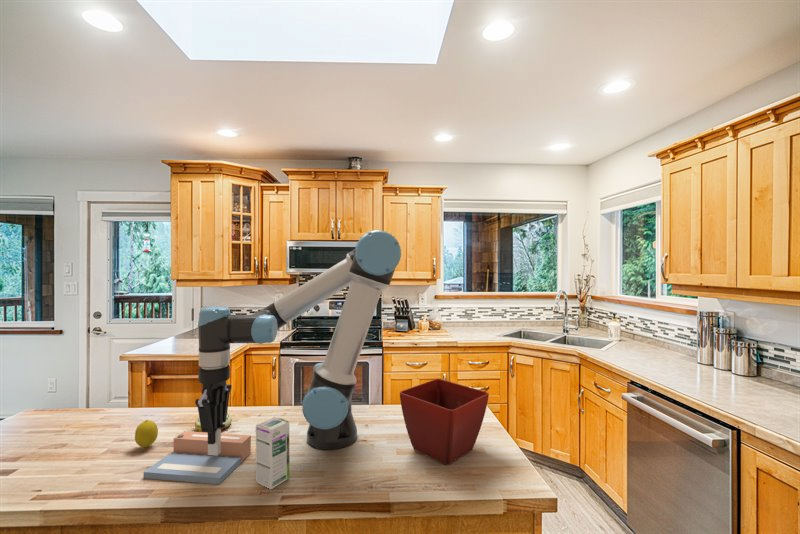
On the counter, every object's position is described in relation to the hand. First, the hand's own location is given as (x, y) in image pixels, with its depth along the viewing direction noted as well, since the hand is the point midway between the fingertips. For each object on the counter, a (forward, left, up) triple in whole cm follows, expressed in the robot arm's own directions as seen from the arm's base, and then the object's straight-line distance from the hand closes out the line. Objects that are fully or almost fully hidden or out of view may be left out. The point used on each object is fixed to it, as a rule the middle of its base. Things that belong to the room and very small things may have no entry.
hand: (214, 453), depth 100 cm
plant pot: (-61, -15, -3) cm, 63 cm away
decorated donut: (+13, -20, -3) cm, 25 cm away
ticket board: (+3, +4, -3) cm, 5 cm away
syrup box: (-19, +6, -3) cm, 20 cm away
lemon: (+24, -5, -3) cm, 25 cm away
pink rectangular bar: (+3, -4, -3) cm, 6 cm away
